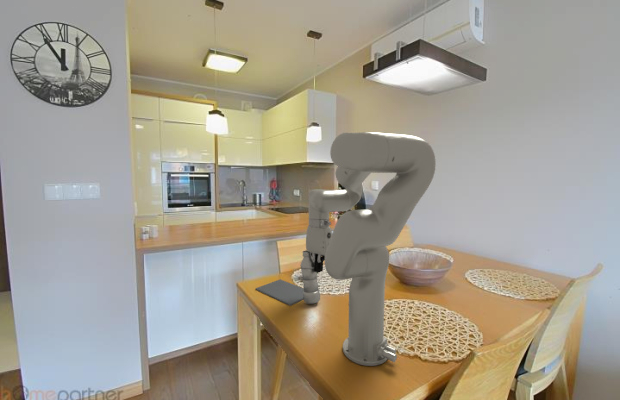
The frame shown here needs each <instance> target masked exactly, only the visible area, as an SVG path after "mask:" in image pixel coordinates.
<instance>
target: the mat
mask: <svg viewBox="0 0 620 400" xmlns="http://www.w3.org/2000/svg"><path fill="white" fill-rule="evenodd" d="M255 291H258V292H260V293H262V294H264V295H266V296H269V297H270V298H273V299H274V300H276V301H279V302H281V303H282V304H285V305H287V306H289V307H291V306H294V305H295V304H297V303H299V302H301V301H304V299H303V291H304V287H301V286H299V285H295V284H293V283H290V282H289V281H285V280H283V279H281V278H280V279H278V280H274V281H272V282H269V283H266V284H264V285H261V286H259V287H255Z"/></svg>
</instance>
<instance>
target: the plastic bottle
mask: <svg viewBox="0 0 620 400" xmlns="http://www.w3.org/2000/svg"><path fill="white" fill-rule="evenodd" d="M302 257H303V258H302V259H301V262H300V271H301V275H302V282H303V288H304V291H303V299H304V300H303V302H304V303H305V304H308V305H314V304H317V303H319V301H320V300H321V293H320V289H319V283H318V274H317V272H314V261H313V258H312V256H311V255H310V252H307V250H306V249H305V250H303V251H302Z"/></svg>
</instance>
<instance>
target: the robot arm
mask: <svg viewBox="0 0 620 400" xmlns="http://www.w3.org/2000/svg"><path fill="white" fill-rule="evenodd" d="M331 143H332V144H331V146H330V153H329V154H330V155H329V156H330V159H331V162H332V163H333V164H334V165H335V166H337V167H336V169H335V178H336V180H337V182H338V183H339V184H340V185H341V186H342V187H343V188H344V189H323V188H322V189H319V188H318V189H317V188H316V189H311V190H309V192H308V226H307V228H306V235H305V248H306V249H305V250H307V252H310V255H311V256H312V258H313V261H314V272H317V273H318V274H319V273H320V272H321V273H322V272H323V270H324V269H325V272H326V273H327V274H328V275H329V277H331V278H333V279H334V280H336V281H337V280H339V281H344V280H345V281H346V280H350V279H351V281H350V285H349V289H348V337H346V338H345V340H343V342H342V352H343V353H344V355H345V357H346V358H348V359H349V360H350V361H352V362H353V363H355V364H358V365H360V366H361V365H362V366H366V367H368V366H369V367H374V366H380V365H381V364H382V365H383V363H385V362H386V361H387V360H389V361H391V362H392V363H396V361H397V358H398V355H397V348H395V347H392V346H390V345H389V344H388V337H386V336H384V333H385V331H384V330H385V326H384V325H385V289H386V279H387V272H388V269H389V263H390V253H389V250H388V247H387V246H392V244H394V243H395V242H396V241H397V239H398V238H399V236H400V234H401V232H402V230H403V229H404V227H405V225H406V224H407V223H408V220H409V219H410V217H411V215H412V213H413V212H414V210H415V208H416V206H417V205H418V203H419V202H420V200H421V199H422V197H424V195H425V193H426V192H427V190H428V188H429V186H431V183H432V181H433V178H434V175H435V174H436V173H435V171H436V166H437V165H436V155H435V153H434V149H433V147H432V146H431V145H430V143H429V142H427V141H426V140H425V139H423V138H421V137H418V136H415V135H409V134H401V133H400V134H399V133H387V132H386V133H384V132H374V131H372V132H371V131H370V132H369V131H363V132H342V133H340V134H338V135H336V137H335V138H334V140H333V141H332V142H331ZM371 173H373V174H374V173H377V174H378V173H381V174H389V173H390V174H393V173H395V176H393V178H391V179H390V180H389V181H388V182H386V184H385V185H383V187H382V188H381V189H380V191H379V192H378V194H377V196H376V199H375V201H374V202H373V204H372V205H371V207H368V208H366V209H353V208H354V207H355V206H356V205H357V204H358V203H359V202H360V200H361V199H362V195H363V189H364V188H363V187H364V186H363V182H364V181H365V180H366V179H367V178H368V177H369V176H370V175H371ZM352 209H353V210H352ZM335 212H344V213H343V214H342V215H340V216H339V218H338V220H337V221H336V224H335V225H334V228H333V230H332V228H331V227H330V226H331V225H332V222H331V221H330V213H335ZM324 266H325V268H324Z"/></svg>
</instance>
